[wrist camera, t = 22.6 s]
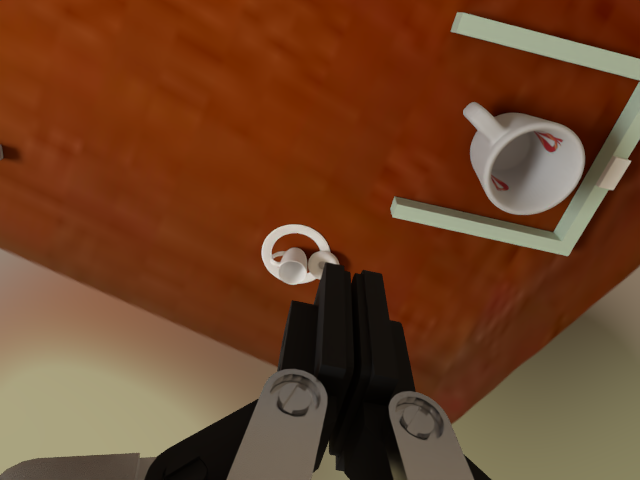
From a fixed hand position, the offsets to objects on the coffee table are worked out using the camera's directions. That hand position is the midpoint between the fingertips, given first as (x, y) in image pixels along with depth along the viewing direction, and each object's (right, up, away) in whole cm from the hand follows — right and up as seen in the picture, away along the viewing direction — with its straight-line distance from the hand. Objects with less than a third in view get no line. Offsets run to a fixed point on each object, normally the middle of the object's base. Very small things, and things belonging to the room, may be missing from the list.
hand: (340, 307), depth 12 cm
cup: (+16, +12, +28) cm, 35 cm away
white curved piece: (-3, -2, +38) cm, 38 cm away
